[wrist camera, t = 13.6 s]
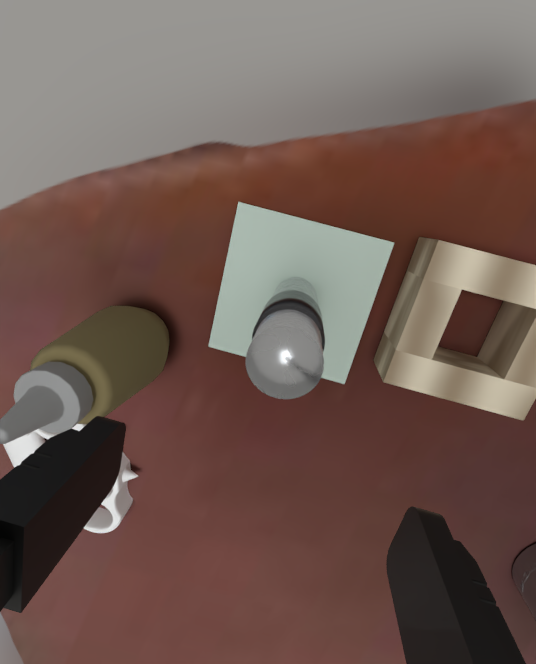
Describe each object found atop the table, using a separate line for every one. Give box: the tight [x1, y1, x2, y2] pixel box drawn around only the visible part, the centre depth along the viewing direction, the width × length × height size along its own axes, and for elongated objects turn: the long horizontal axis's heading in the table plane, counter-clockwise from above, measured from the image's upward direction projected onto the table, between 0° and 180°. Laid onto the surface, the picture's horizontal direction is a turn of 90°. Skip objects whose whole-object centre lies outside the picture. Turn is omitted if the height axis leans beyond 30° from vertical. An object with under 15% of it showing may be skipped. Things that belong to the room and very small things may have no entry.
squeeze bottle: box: [0, 306, 170, 444], centre depth 29 cm, size 8×8×18 cm
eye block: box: [374, 237, 536, 420], centre depth 31 cm, size 12×12×5 cm
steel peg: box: [246, 277, 325, 399], centre depth 26 cm, size 4×4×16 cm
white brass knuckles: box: [3, 424, 138, 533], centre depth 42 cm, size 3×18×15 cm
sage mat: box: [208, 202, 394, 384], centre depth 34 cm, size 14×14×1 cm
